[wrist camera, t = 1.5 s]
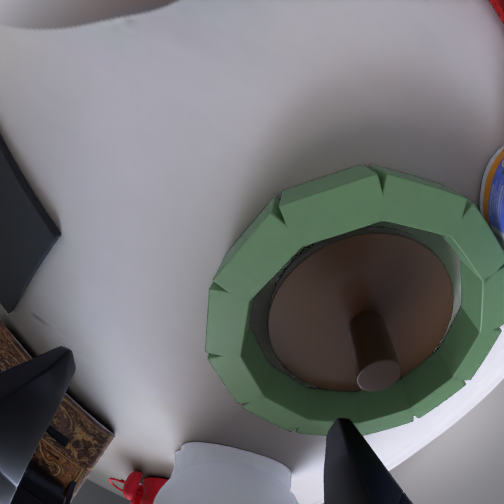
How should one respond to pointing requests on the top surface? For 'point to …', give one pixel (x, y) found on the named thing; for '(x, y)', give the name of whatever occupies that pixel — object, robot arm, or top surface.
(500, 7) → the tracker holder
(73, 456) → the book
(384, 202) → the ring
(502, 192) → the pill bottle
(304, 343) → the ring stand
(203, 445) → the figurine
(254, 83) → the top surface
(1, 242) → the mat
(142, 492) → the alarm clock
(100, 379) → the top surface
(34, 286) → the top surface
